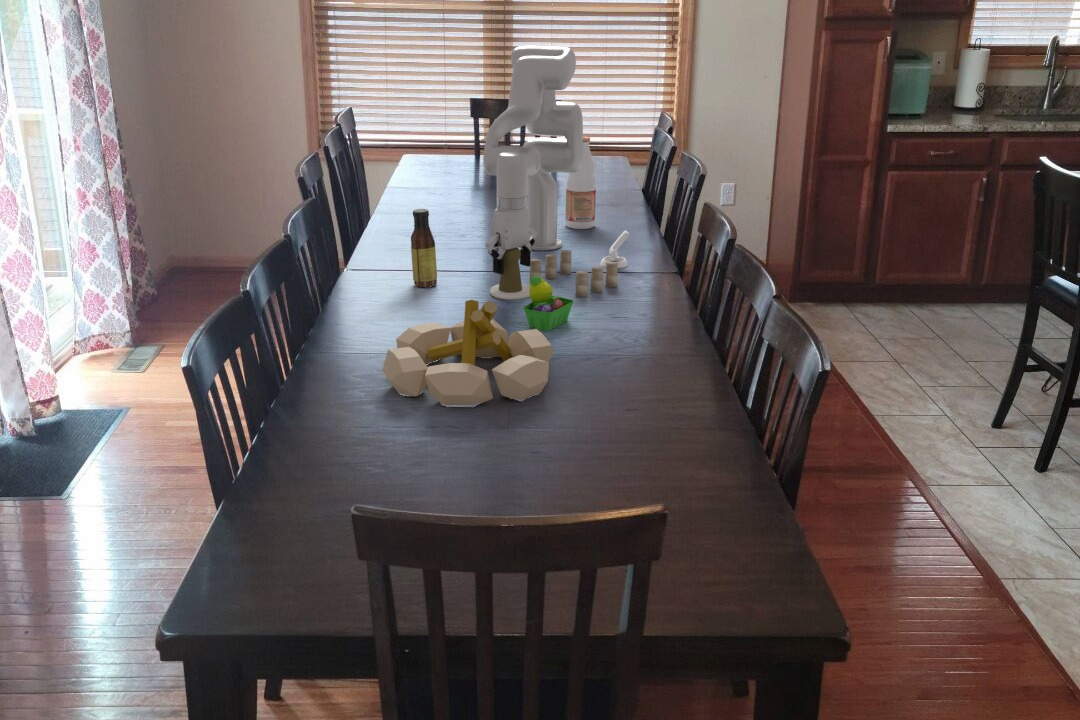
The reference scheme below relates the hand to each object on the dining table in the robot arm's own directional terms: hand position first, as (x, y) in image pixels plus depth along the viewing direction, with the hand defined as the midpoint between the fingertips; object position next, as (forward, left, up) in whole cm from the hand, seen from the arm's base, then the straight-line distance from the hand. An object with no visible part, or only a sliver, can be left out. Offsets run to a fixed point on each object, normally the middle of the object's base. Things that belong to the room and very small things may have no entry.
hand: (511, 269), depth 266 cm
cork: (0, -1, -5) cm, 5 cm away
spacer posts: (+6, +17, -6) cm, 19 cm away
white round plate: (0, 0, -6) cm, 6 cm away
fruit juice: (-33, +65, -6) cm, 73 cm away
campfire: (+33, -46, -7) cm, 57 cm away
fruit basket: (+22, -11, -7) cm, 25 cm away
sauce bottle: (-21, -11, -6) cm, 25 cm away
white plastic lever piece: (+2, +39, -7) cm, 40 cm away
